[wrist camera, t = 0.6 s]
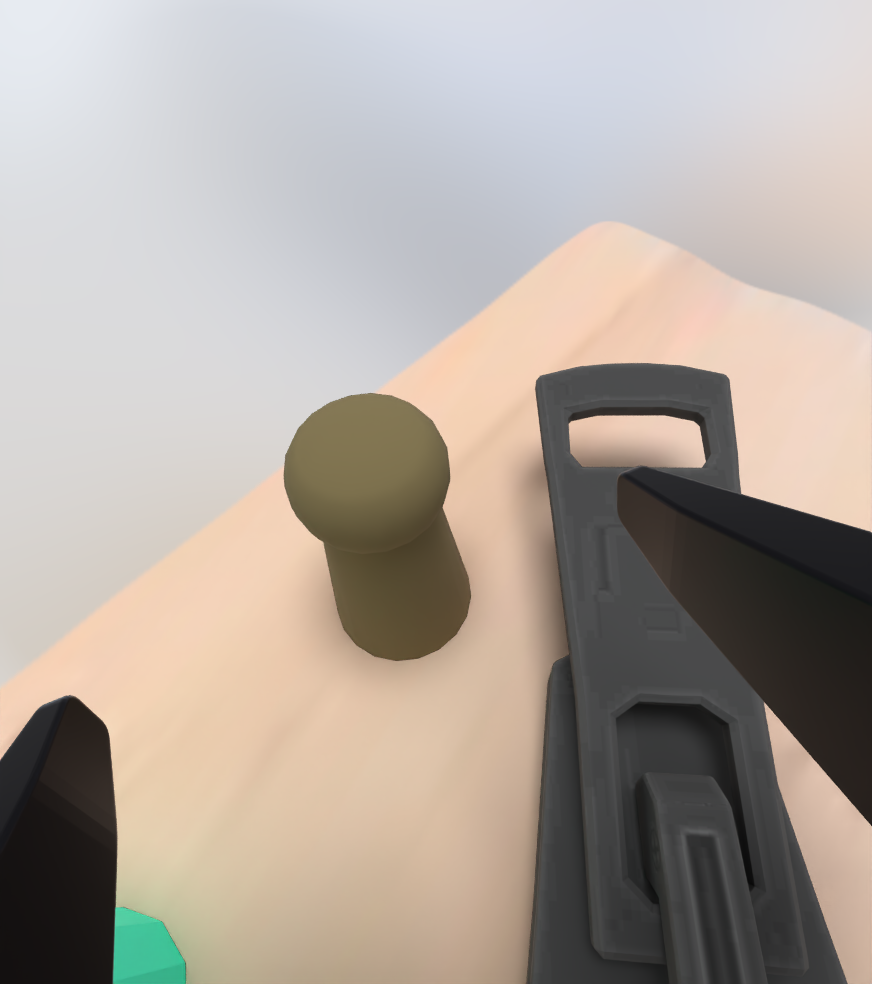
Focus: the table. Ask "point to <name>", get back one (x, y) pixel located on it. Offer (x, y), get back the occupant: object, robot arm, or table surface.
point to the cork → (381, 522)
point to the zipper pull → (655, 741)
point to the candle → (145, 951)
